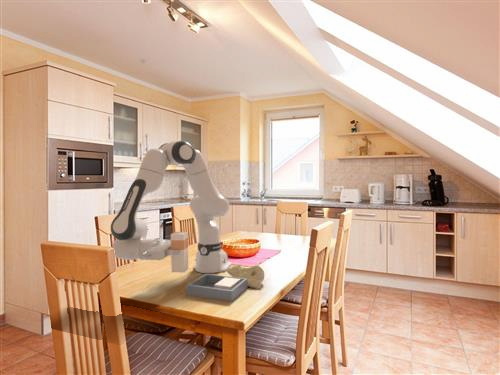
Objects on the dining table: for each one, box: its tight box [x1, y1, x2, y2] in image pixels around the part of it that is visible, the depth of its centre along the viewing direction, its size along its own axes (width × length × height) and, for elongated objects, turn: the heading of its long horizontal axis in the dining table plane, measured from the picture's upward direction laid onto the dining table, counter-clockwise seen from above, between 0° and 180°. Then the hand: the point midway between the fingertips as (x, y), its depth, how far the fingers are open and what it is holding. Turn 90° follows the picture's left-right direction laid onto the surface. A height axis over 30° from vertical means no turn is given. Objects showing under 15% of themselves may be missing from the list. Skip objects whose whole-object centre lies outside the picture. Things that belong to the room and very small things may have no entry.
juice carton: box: [170, 231, 189, 273], centre depth 134 cm, size 6×6×16 cm
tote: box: [185, 273, 249, 303], centre depth 130 cm, size 16×20×5 cm
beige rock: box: [225, 263, 265, 290], centre depth 139 cm, size 15×7×15 cm
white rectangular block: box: [214, 277, 240, 290], centre depth 128 cm, size 10×7×4 cm
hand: (181, 249), depth 133 cm, fingers closed on juice carton, 6 cm apart
